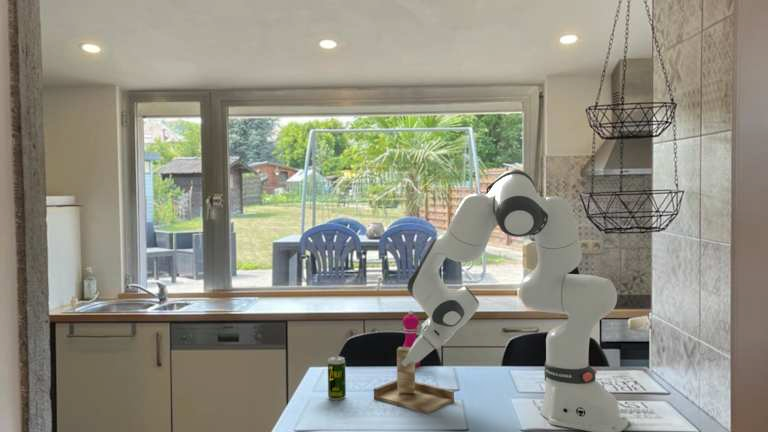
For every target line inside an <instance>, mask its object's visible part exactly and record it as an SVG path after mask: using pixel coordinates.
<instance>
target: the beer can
mask: <svg viewBox="0 0 768 432" xmlns="http://www.w3.org/2000/svg"><path fill="white" fill-rule="evenodd" d="M345 359H346V358H345V357H344V356H331V357H328V361H327V395H328V399H329V400H331V401H342V400H344V399H345V398H346V395H347V392H346V391H347V389H346V388H347V385H346V383H347V380H346V360H345Z"/></svg>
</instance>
